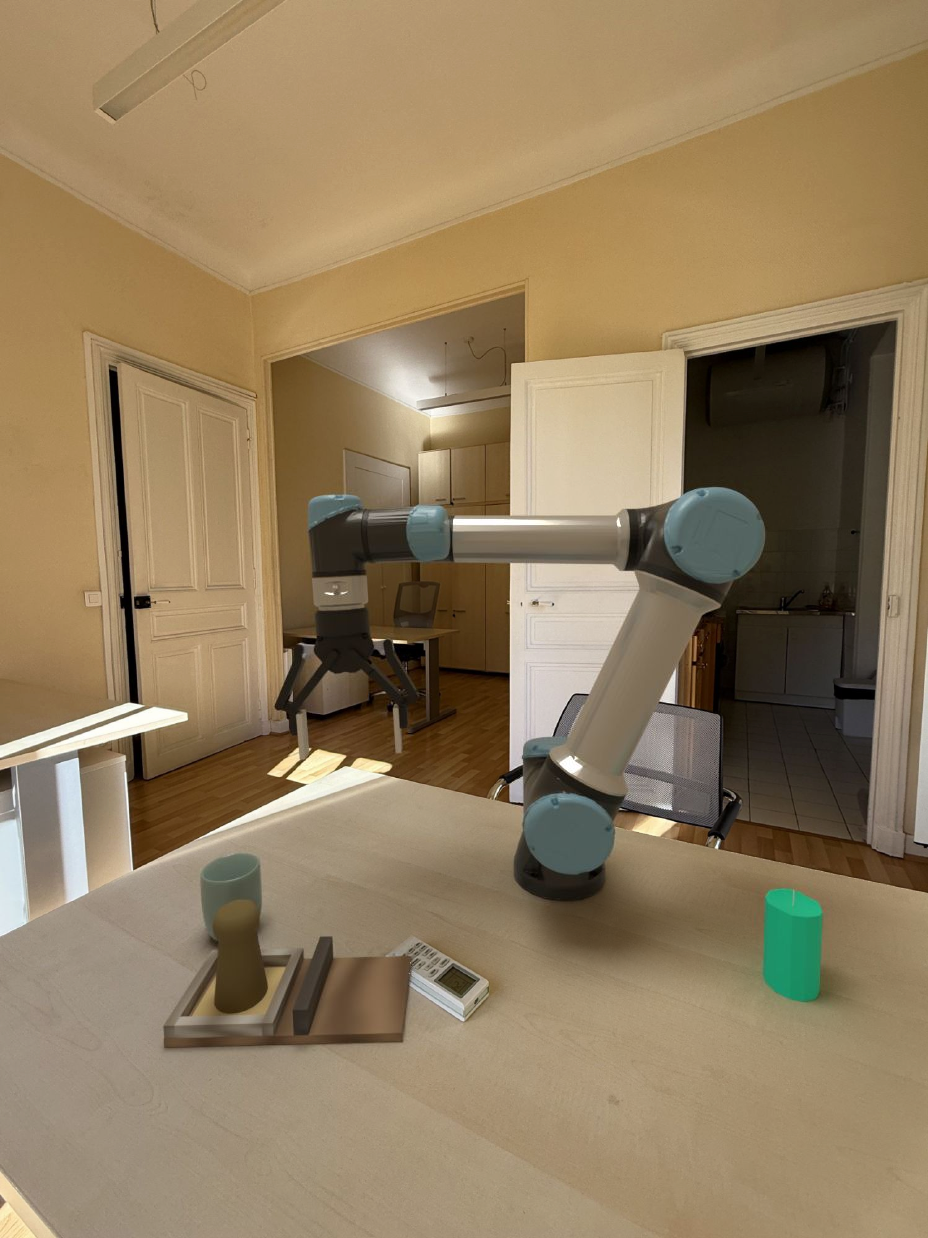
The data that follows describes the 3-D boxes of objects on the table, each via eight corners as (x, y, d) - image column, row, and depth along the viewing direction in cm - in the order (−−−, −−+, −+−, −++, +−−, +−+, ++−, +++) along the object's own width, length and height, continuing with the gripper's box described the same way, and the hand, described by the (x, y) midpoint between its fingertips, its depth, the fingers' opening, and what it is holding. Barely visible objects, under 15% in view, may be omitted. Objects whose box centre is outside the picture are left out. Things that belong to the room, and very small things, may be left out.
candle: (800, 1009, 64) (803, 911, 62) (752, 975, 69) (754, 884, 68) (830, 990, 66) (834, 895, 65) (782, 959, 72) (784, 871, 71)
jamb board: (411, 963, 72) (410, 934, 72) (401, 1041, 60) (400, 1007, 60) (213, 968, 72) (211, 939, 72) (164, 1047, 60) (161, 1013, 60)
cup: (243, 955, 75) (238, 884, 74) (192, 948, 76) (187, 879, 75) (273, 919, 82) (270, 855, 81) (227, 913, 84) (223, 850, 83)
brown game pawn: (278, 982, 68) (273, 897, 67) (241, 1020, 62) (235, 928, 61) (241, 970, 70) (235, 887, 69) (202, 1005, 64) (195, 916, 63)
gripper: (242, 614, 74) (256, 768, 76) (429, 604, 75) (438, 756, 77) (260, 610, 81) (272, 750, 83) (430, 601, 82) (437, 739, 84)
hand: (351, 753), depth 80 cm, fingers open, 13 cm apart
